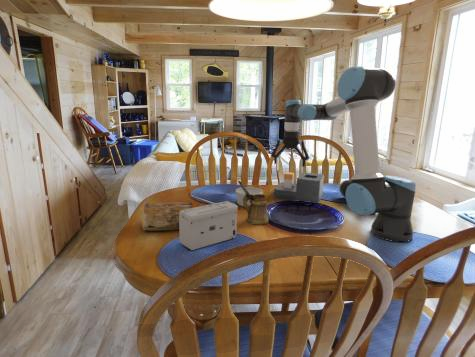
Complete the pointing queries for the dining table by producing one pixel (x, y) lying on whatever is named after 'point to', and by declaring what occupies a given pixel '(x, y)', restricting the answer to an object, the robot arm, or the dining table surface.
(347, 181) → the dark grey cylinder
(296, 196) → the dock
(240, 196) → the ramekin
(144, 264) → the dining table surface
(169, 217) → the petrified wood
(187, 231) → the stereo radio cassette player
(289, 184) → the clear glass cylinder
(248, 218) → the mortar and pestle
